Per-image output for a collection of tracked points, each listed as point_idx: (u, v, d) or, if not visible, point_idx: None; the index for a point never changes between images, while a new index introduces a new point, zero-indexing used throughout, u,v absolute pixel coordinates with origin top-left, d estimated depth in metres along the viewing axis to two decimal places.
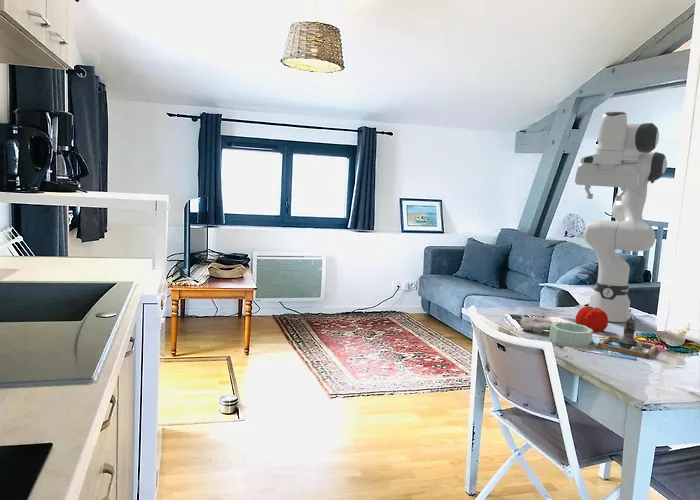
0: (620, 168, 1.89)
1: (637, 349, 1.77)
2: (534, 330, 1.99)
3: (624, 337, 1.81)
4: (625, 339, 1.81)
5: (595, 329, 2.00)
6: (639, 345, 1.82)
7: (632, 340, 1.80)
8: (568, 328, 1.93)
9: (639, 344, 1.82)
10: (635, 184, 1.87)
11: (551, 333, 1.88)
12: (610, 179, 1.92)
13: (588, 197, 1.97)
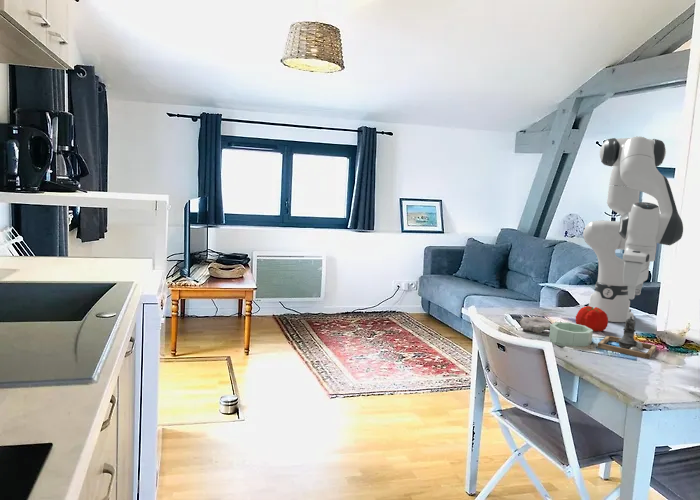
0: None
1: None
2: (534, 330, 1.99)
3: (624, 337, 1.81)
4: (625, 339, 1.81)
5: (595, 329, 2.00)
6: (640, 344, 1.82)
7: (632, 340, 1.80)
8: (568, 328, 1.93)
9: (640, 343, 1.83)
10: (647, 276, 1.85)
11: (551, 333, 1.88)
12: (643, 275, 1.79)
13: (633, 298, 1.75)
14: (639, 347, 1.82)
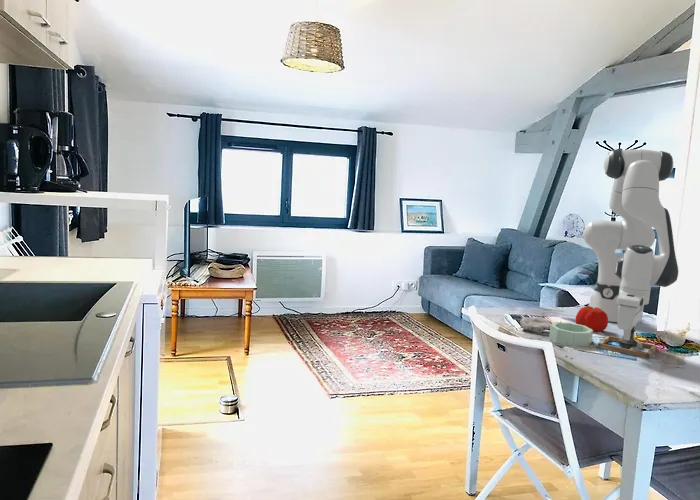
0: None
1: None
2: (534, 330, 1.99)
3: None
4: None
5: (595, 329, 2.00)
6: (640, 344, 1.82)
7: (632, 340, 1.80)
8: (568, 328, 1.93)
9: (640, 344, 1.83)
10: None
11: (551, 333, 1.88)
12: (638, 317, 1.81)
13: (629, 338, 1.79)
14: (639, 347, 1.82)
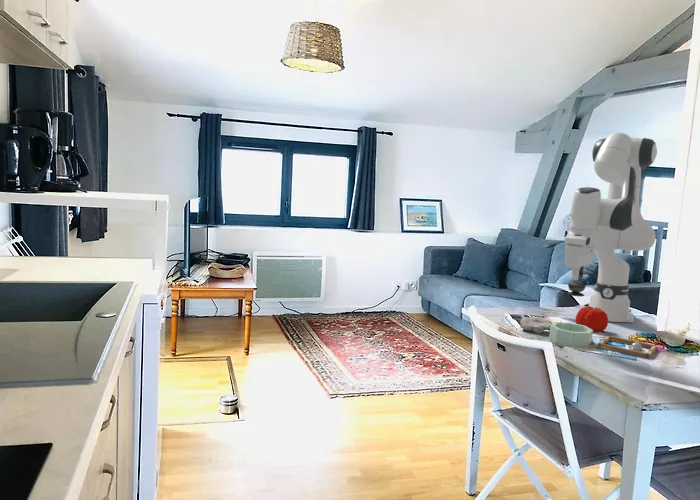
0: None
1: None
2: (534, 330, 1.98)
3: (573, 280, 1.85)
4: (573, 281, 1.84)
5: (595, 329, 2.00)
6: None
7: (580, 282, 1.83)
8: (568, 328, 1.93)
9: (638, 348, 1.81)
10: (592, 259, 1.91)
11: (551, 333, 1.88)
12: (586, 258, 1.84)
13: (578, 279, 1.82)
14: None
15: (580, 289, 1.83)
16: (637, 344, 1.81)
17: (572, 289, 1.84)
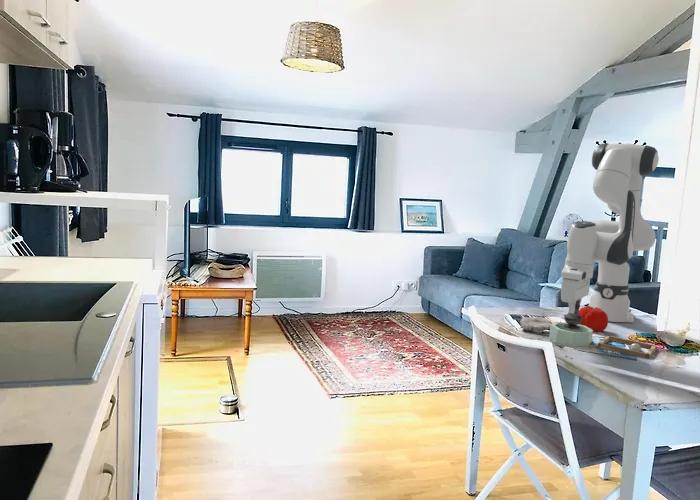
0: None
1: None
2: (534, 330, 1.98)
3: None
4: (570, 314, 1.86)
5: (595, 329, 2.00)
6: None
7: (576, 315, 1.85)
8: (568, 328, 1.93)
9: None
10: (588, 291, 1.92)
11: (551, 333, 1.88)
12: (583, 291, 1.86)
13: (574, 312, 1.84)
14: None
15: (576, 322, 1.84)
16: None
17: (568, 322, 1.86)
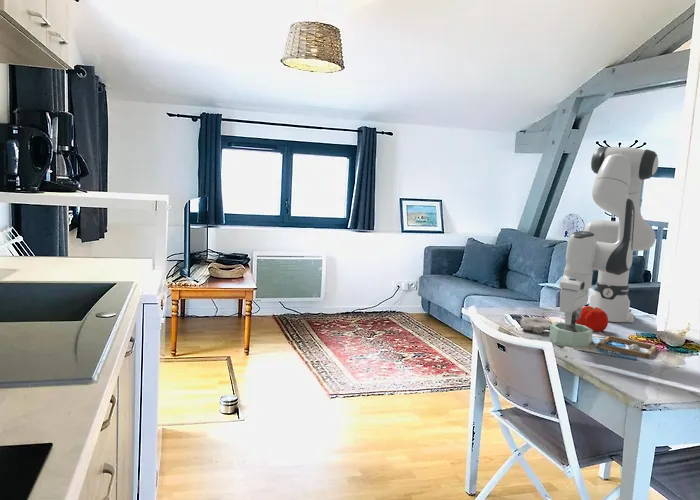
0: None
1: (636, 350, 1.76)
2: (534, 330, 1.98)
3: (566, 327, 1.85)
4: (566, 329, 1.85)
5: (595, 329, 2.00)
6: None
7: (573, 330, 1.84)
8: None
9: None
10: (587, 300, 1.93)
11: (551, 333, 1.88)
12: (581, 301, 1.86)
13: (570, 323, 1.82)
14: None
15: None
16: None
17: None
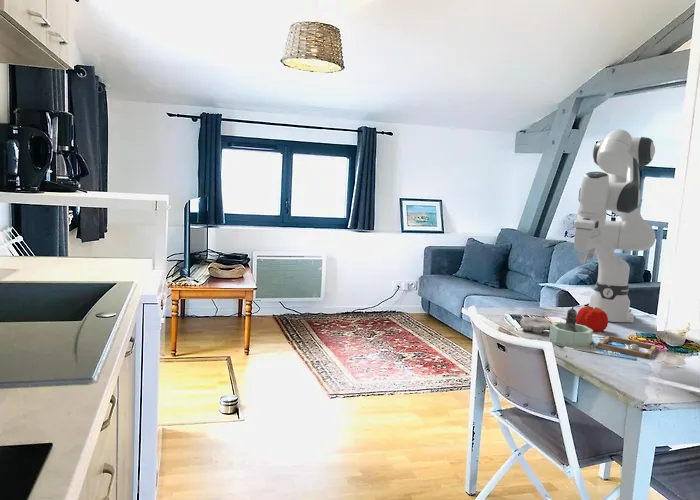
0: None
1: None
2: (534, 330, 1.98)
3: (566, 327, 1.85)
4: (566, 329, 1.85)
5: (595, 329, 2.00)
6: None
7: (573, 330, 1.84)
8: None
9: None
10: (600, 241, 1.96)
11: (551, 333, 1.88)
12: (595, 241, 1.89)
13: (584, 262, 1.86)
14: None
15: None
16: None
17: None
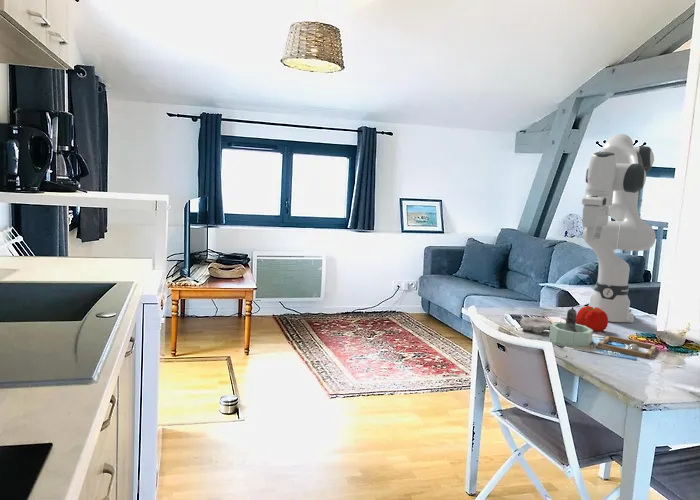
0: None
1: None
2: (534, 330, 1.98)
3: (566, 327, 1.85)
4: (566, 329, 1.85)
5: (595, 329, 2.00)
6: None
7: (573, 330, 1.84)
8: None
9: None
10: (607, 221, 2.01)
11: (551, 333, 1.88)
12: (602, 219, 1.94)
13: (592, 239, 1.90)
14: None
15: None
16: None
17: None
